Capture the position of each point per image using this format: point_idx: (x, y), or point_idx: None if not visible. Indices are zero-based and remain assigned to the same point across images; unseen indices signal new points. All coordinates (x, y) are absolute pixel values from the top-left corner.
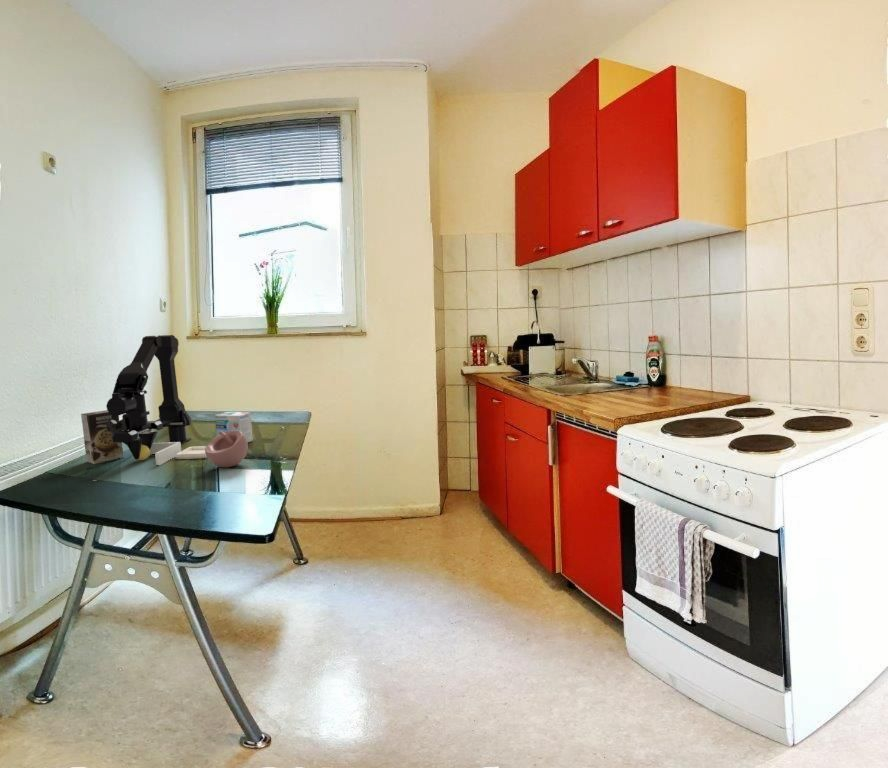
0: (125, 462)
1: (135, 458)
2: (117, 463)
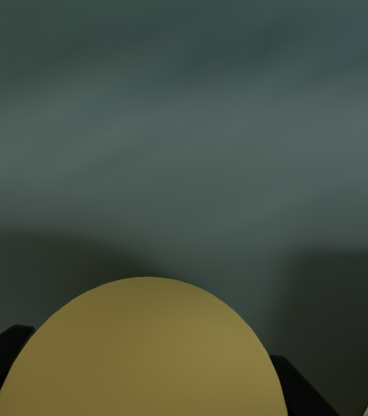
0: (113, 127)
1: (5, 342)
2: (75, 3)
